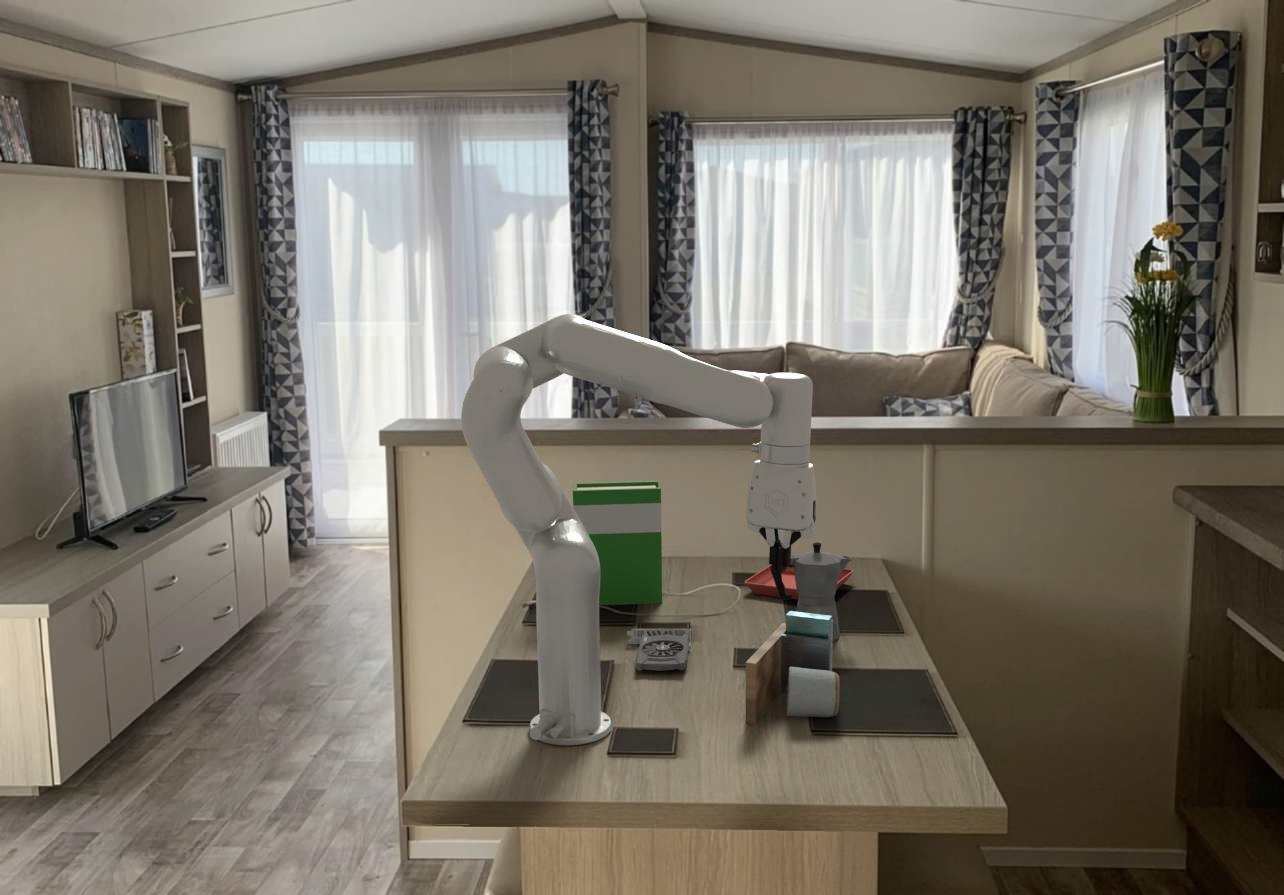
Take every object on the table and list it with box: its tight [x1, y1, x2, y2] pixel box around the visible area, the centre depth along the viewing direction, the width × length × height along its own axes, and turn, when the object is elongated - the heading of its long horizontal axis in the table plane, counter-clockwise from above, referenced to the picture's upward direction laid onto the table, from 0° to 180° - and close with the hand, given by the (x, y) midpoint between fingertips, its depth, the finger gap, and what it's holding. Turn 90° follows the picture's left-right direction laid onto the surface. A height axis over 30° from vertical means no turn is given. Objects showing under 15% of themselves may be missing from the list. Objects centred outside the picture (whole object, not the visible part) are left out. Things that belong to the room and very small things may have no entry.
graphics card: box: [627, 628, 692, 672], centre depth 222 cm, size 17×4×12 cm
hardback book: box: [572, 480, 663, 606], centre depth 254 cm, size 18×7×24 cm, turn 94°
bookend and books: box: [781, 610, 833, 695], centre depth 205 cm, size 6×8×13 cm
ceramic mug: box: [786, 667, 841, 718], centre depth 197 cm, size 11×8×8 cm
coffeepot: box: [770, 542, 852, 642], centre depth 231 cm, size 15×9×18 cm, turn 99°
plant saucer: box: [744, 564, 855, 601], centre depth 262 cm, size 18×18×3 cm
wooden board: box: [745, 622, 786, 726], centre depth 201 cm, size 20×2×10 cm, turn 157°
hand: (779, 570), depth 193 cm, fingers closed
